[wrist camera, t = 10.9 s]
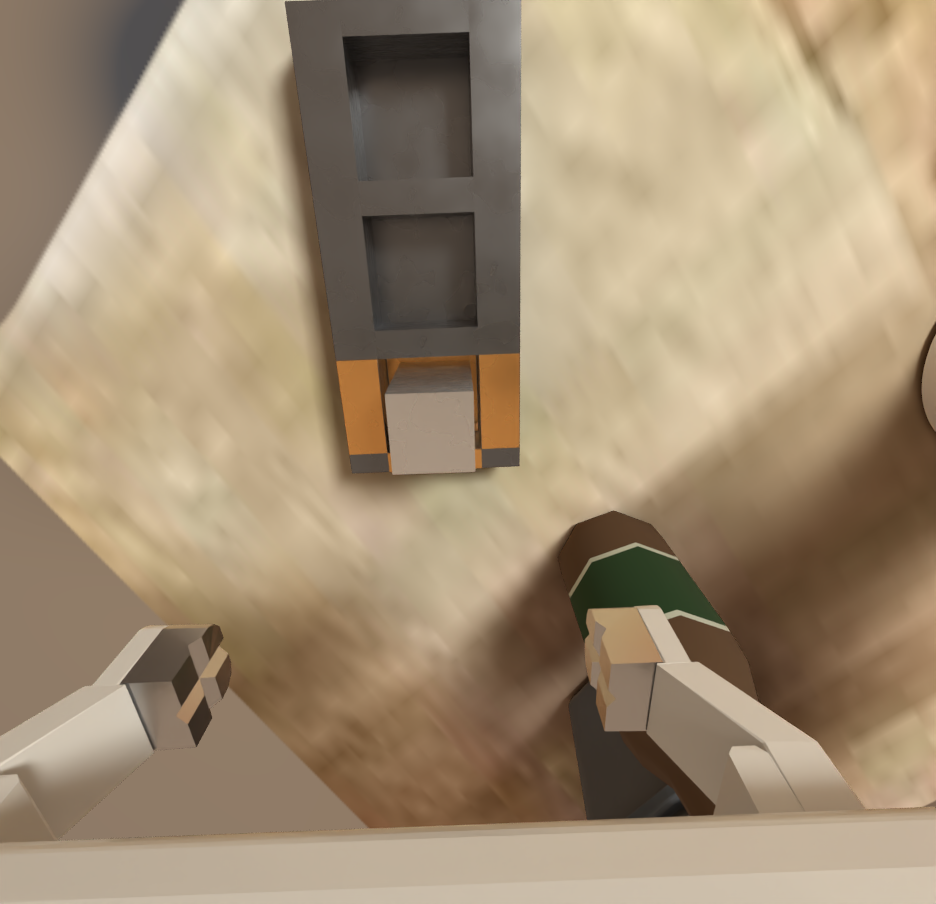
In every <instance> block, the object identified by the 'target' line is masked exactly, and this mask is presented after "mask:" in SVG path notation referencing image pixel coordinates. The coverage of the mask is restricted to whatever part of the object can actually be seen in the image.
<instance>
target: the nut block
mask: <svg viewBox="0 0 936 904" xmlns="http://www.w3.org/2000/svg"><path fill="white" fill-rule="evenodd" d="M385 403H386V413H387V424H388V434H389V444H390V455H391V465H392V475H400V474H429V473H457V472H475V432H474V391H473V383H472V375H471V367H470V360H466V361H436V362H405V363H400V364H399V366H398V368H397V370H396V372H395V374H394V376H393V378H392V380H391V382H390V384H389V387H388V389H387V391H386V393H385Z"/></svg>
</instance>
